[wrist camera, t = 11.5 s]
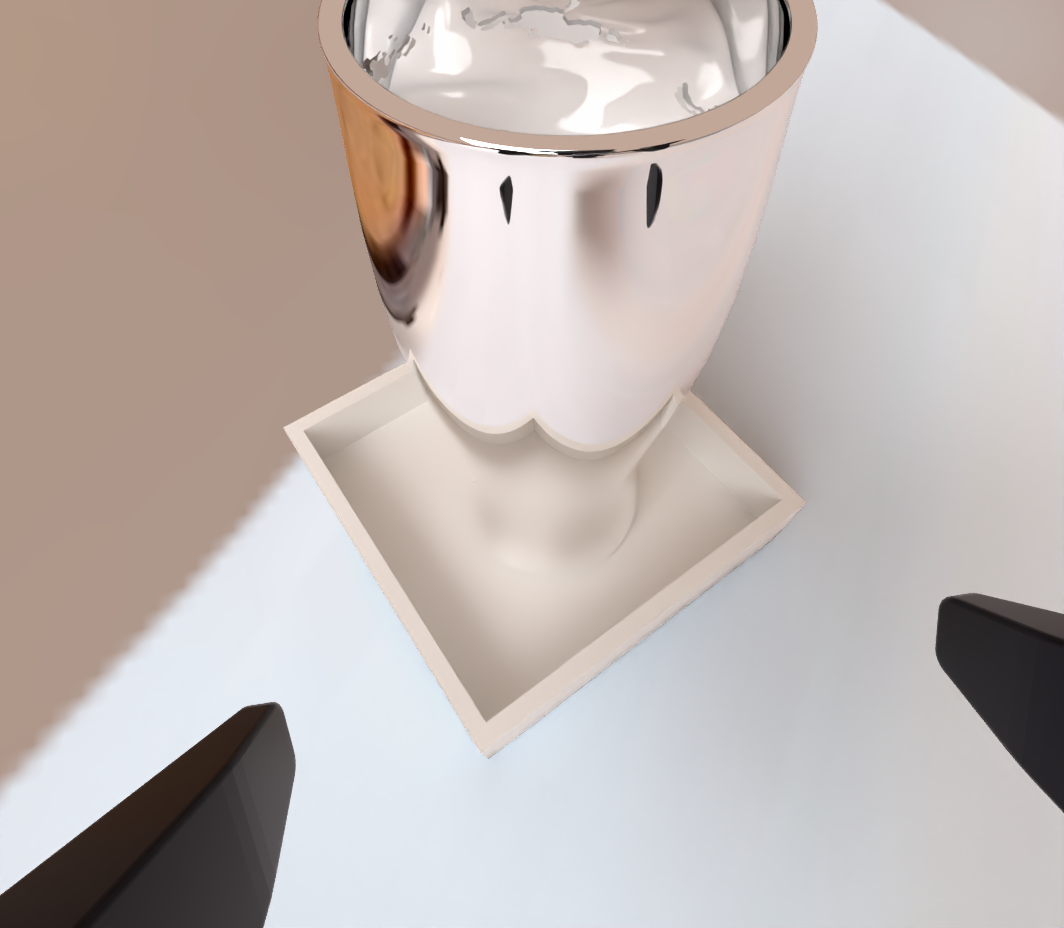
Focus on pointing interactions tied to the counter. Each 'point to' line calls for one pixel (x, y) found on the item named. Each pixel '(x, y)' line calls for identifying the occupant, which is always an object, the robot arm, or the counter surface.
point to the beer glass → (560, 227)
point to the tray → (517, 598)
